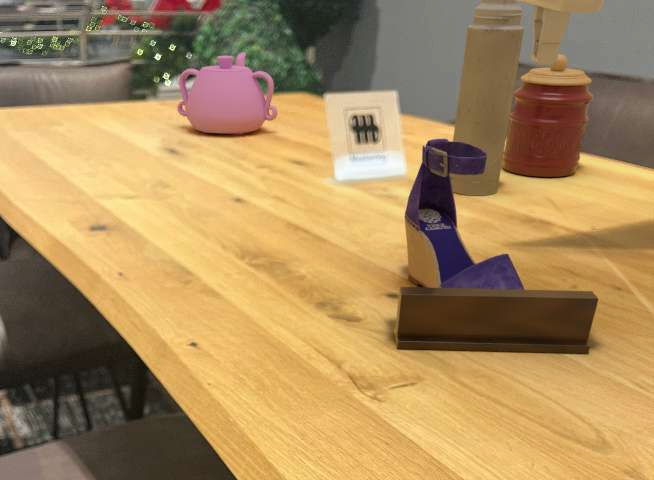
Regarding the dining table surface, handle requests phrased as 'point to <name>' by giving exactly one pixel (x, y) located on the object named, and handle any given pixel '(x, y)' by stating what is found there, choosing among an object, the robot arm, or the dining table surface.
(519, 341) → the shoe rail
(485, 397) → the dining table surface
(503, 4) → the thermos bottle
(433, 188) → the sandal
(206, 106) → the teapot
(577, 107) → the kitchen canister
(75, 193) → the dining table surface
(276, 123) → the dining table surface
